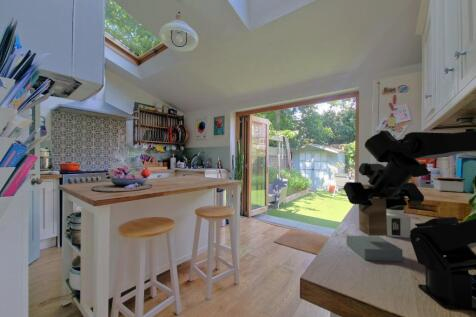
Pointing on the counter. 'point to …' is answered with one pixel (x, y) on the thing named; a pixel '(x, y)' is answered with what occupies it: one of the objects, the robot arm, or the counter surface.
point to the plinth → (374, 248)
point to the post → (374, 217)
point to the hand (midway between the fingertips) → (369, 209)
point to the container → (398, 223)
